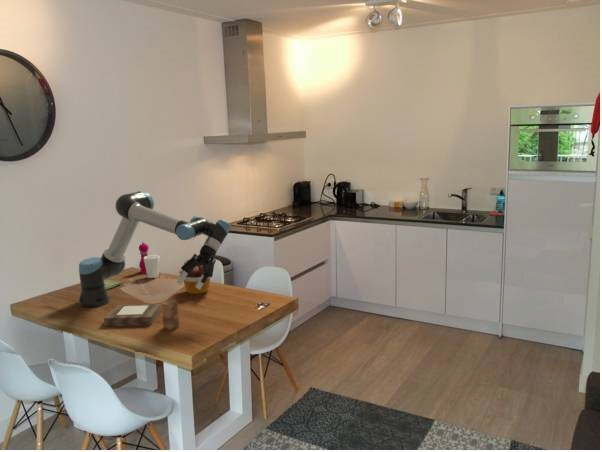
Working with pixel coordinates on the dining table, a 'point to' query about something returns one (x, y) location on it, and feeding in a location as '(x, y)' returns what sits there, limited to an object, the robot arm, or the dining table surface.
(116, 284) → the washcloth
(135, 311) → the tray
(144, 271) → the pepper mill
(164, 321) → the cherry block
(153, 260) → the foam cup
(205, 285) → the bucket of meat
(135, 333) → the dining table surface
